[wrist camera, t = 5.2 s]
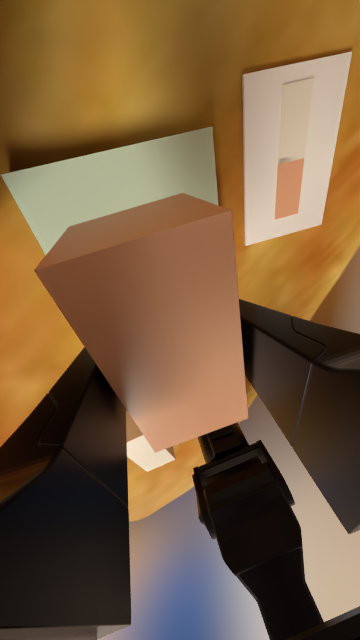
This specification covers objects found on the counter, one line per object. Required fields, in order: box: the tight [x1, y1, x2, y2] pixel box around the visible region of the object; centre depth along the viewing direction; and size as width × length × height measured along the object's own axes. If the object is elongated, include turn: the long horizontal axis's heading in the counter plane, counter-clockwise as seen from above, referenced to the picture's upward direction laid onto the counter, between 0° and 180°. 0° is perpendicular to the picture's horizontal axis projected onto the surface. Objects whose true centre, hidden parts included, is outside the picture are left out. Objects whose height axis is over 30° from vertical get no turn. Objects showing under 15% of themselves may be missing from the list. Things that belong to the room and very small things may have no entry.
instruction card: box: [242, 52, 352, 246], centre depth 16 cm, size 10×7×1 cm
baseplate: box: [1, 126, 218, 255], centre depth 17 cm, size 12×12×1 cm
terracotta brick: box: [34, 193, 248, 453], centre depth 8 cm, size 8×4×4 cm, turn 13°
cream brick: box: [126, 411, 175, 472], centre depth 28 cm, size 8×4×4 cm, turn 20°
